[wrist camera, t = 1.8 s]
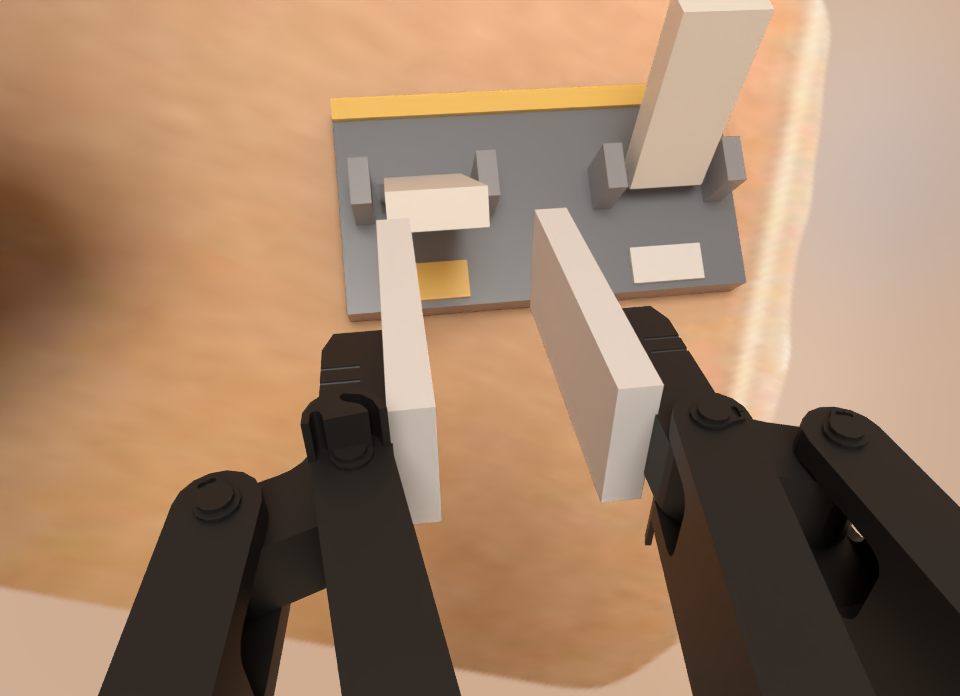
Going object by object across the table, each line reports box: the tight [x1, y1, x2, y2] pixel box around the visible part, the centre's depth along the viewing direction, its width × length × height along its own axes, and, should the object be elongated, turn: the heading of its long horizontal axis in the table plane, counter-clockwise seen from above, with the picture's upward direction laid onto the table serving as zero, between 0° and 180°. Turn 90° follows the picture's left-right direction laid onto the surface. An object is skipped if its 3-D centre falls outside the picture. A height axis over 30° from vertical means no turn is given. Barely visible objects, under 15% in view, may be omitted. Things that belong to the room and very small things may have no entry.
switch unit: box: [330, 84, 747, 322], centre depth 38 cm, size 22×12×5 cm, turn 96°
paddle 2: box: [625, 0, 774, 189], centre depth 34 cm, size 5×2×10 cm, turn 96°
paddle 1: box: [379, 173, 490, 232], centre depth 32 cm, size 5×2×10 cm, turn 96°
